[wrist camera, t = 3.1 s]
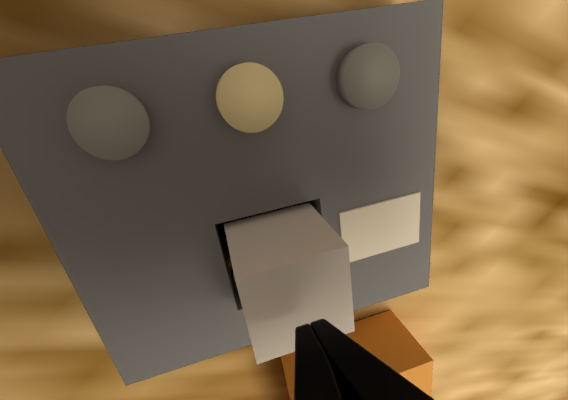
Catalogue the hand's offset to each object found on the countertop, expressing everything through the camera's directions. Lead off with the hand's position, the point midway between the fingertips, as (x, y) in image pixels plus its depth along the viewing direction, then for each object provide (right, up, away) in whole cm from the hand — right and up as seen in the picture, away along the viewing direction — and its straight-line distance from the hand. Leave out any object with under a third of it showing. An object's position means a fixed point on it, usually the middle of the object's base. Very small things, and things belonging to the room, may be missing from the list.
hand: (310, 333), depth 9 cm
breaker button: (-1, +2, +4) cm, 5 cm away
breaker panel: (-2, +4, +5) cm, 7 cm away
